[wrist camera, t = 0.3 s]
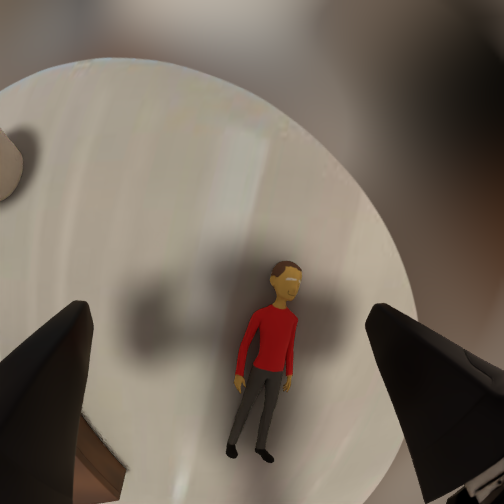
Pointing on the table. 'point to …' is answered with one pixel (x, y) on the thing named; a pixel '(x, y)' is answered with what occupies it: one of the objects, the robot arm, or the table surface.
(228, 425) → the table surface
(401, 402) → the robot arm
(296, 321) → the person figure
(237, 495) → the table surface
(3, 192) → the dixie cup
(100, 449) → the wooden riser stand
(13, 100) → the table surface
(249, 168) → the table surface
